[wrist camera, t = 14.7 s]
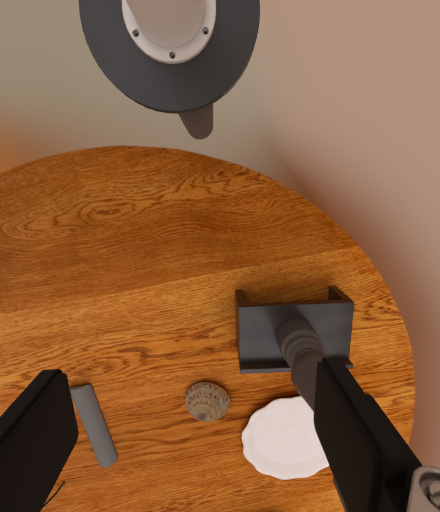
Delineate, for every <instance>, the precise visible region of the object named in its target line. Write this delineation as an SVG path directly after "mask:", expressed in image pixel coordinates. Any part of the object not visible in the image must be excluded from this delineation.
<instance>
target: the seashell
mask: <svg viewBox="0 0 440 512" xmlns="http://www.w3.org/2000/svg"><path fill="white" fill-rule="evenodd" d="M185 404H186V407H187V409H188V411H189V412H190V414H191V415H192V416H193V417H194V418H196V419H197V420H199V421H204V422H209V421H213V420H215V419H218V418H221V417H222V416H224V415H225V414H226V411H227V408H228V407H229V406H230V399H229V397H228V394H227V393H226V391H225V390H224V389H223V388H221V387H220V386H218V385H216V384H213V383H209V382H200V383H196V384H194V385H192V386H191V387H190V388H188V390H187V392H186V394H185Z"/></svg>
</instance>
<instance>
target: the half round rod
mask: <svg viewBox="0 0 440 512" xmlns="http://www.w3.org/2000/svg"><path fill="white" fill-rule="evenodd" d="M70 393H71V395H72V398H73V400H74V403H75V405H76V408H77V410H78V413H79V415H80V418H81V420H82V423H83V425H84V428H85V430H86V433H87V435H88V438H89V440H90V443H91V445H92V448H93V450H94V453H95V455H96V458H97V460H98V463H99V465H100V466H101V467H102V468H107V467H109V466H111V465H113V464H114V463H115V461H116V460H117V453H116V450H115V448H114V445H113V442H112V440H111V437H110V434H109V431H108V429H107V426H106V423H105V421H104V418H103V415H102V413H101V410H100V407H99V405H98V402H97V399H96V397H95V394H94V391H93V389H92V386H91V385H83V386H77V387H72V388H70Z"/></svg>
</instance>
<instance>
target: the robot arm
mask: <svg viewBox="0 0 440 512" xmlns="http://www.w3.org/2000/svg"><path fill="white" fill-rule="evenodd" d="M122 12H123V17H124V21H125V24H126V27H127V30H128V32H129V34H130V36H131V37H132V39H133V41H134V42H135V43H136V45H137V46H138V47H139V48H140V49H141V51H142V52H143V53H145V54H146V55H147V56H149V57H150V58H152V59H154V60H156V61H158V62H162V63H166V64H179V63H184V62H186V61H188V60H191V59H193V58H194V57H195V56H197V55H198V54H199V53H200V52H201V51H202V50H203V49H204V48H205V46H206V45H207V43H208V42H209V40H210V38H211V35H212V33H213V30H214V26H215V21H216V0H122ZM205 32H207V33H208V34H206V35H205V34H204V33H205ZM137 34H138V36H137V37H136V35H137ZM172 56H175V58H174V59H172ZM314 427H315V431H316V433H317V436H318V438H319V441H320V443H321V446H322V448H323V451H324V453H325V456H326V458H327V461H328V463H329V466H330V468H331V471H332V473H333V476H334V478H335V480H336V483H337V485H338V488H339V490H340V493H341V495H342V498H343V500H344V503H345V505H346V508H347V510H348V512H440V468H439V467H435V466H422V464H421V463H420V461H419V460H418V459H417V457H416V456H415V455H414V453H413V452H412V450H411V449H410V448H409V446H408V445H407V444H406V442H405V441H404V439H403V438H402V437H401V435H400V434H399V433H398V431H397V430H396V428H395V427H394V426H393V424H392V423H391V422H390V420H389V419H388V417H387V416H386V415H385V413H384V412H383V411H382V409H381V408H380V406H379V405H378V404H377V402H376V401H375V400H374V398H373V397H372V396H371V395H369V394H365V393H364V392H363V390H362V389H361V387H360V386H359V384H358V383H357V382H356V380H355V379H354V377H353V376H352V374H351V373H350V372H349V370H348V369H347V367H346V366H345V364H344V363H343V362H342V360H341V359H340V358H339V357H323V358H322V360H321V361H320V362H317V371H316V387H315V403H314ZM77 439H78V427H77V422H76V417H75V412H74V407H73V403H72V398H71V393H70V388H69V384H68V379H67V375H66V374H65V373H63V372H62V371H61V370H60V369H52V370H42V371H41V372H40V373H39V374H38V375H37V376H36V378H35V379H34V380H33V381H32V382H31V383H30V384H29V385H28V387H27V388H26V389H25V390H24V391H23V392H22V393H21V394H20V395H19V397H18V398H17V399H16V400H15V401H14V402H13V403H12V404H11V405H10V407H9V408H8V409H7V410H6V411H5V412H4V413H3V414H2V416H1V417H0V512H40V511H41V509H42V507H43V505H44V503H45V502H46V500H47V498H48V496H49V494H50V492H51V490H52V488H53V486H54V484H55V482H56V480H57V479H58V477H59V475H60V473H61V471H62V469H63V467H64V465H65V463H66V461H67V459H68V457H69V456H70V454H71V452H72V450H73V448H74V446H75V444H76V442H77Z"/></svg>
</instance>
